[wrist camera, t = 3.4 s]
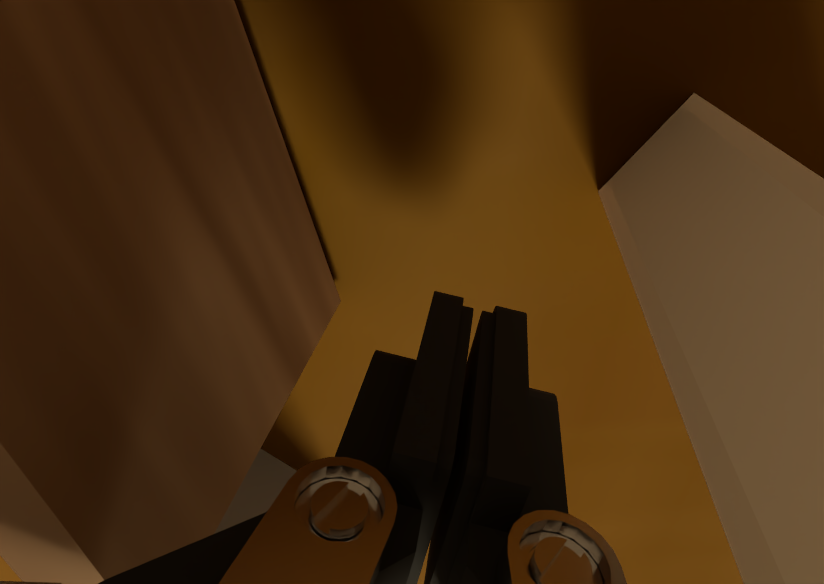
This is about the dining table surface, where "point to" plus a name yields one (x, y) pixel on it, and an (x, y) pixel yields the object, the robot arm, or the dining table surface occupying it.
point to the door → (140, 279)
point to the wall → (736, 323)
